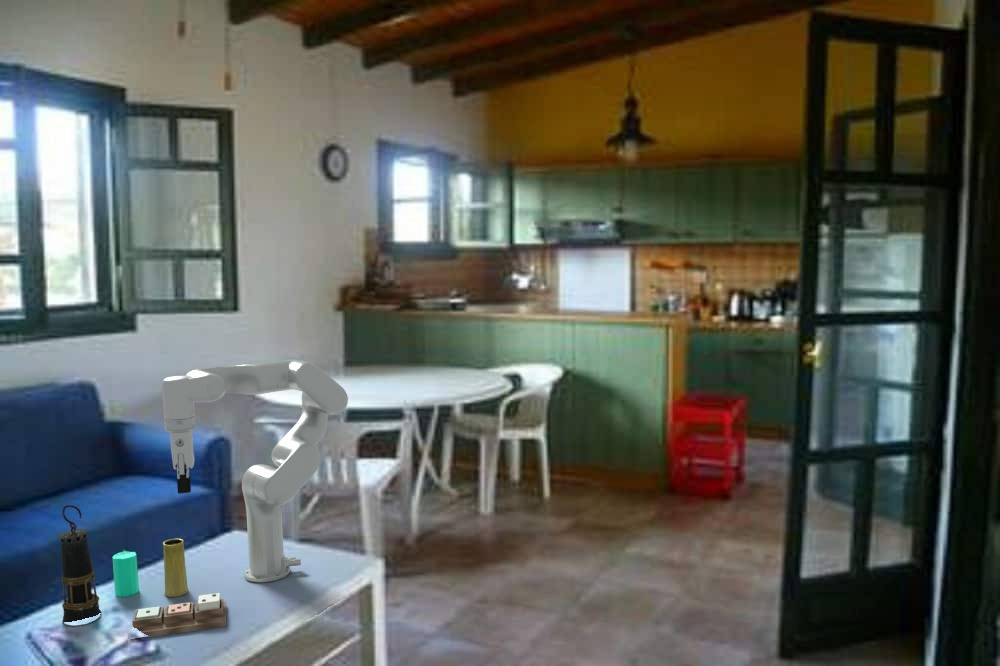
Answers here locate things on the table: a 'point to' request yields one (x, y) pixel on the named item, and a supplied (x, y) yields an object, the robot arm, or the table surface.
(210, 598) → the tile two dots
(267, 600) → the table surface
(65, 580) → the lantern
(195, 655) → the table surface
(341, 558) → the table surface
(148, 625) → the tile board
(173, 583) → the vase
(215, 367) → the robot arm
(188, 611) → the tile three dots
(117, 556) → the candle
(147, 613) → the tile one dot
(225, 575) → the table surface
